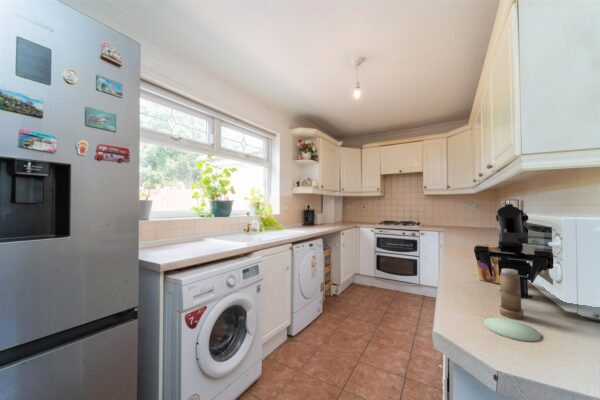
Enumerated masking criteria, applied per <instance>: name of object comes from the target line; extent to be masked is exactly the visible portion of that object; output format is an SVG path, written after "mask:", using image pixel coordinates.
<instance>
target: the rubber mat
mask: <svg viewBox="0 0 600 400" xmlns="http://www.w3.org/2000/svg"><path fill="white" fill-rule="evenodd" d="M483 324H484V326H485V328H486V329H487V330H489V331H490V332H493V333H494V334H495V335H496V334H497V335H499V336H501V337H505V338H508V339H511V340H515V341H521V342H537V341H540V340H541V338H542V337H541V335H542V334H541V333H540V331H538V330H537V329H535V328H534V327H533V326H530V325H528V324H526V323H523V322H521V321H516V320H515V319H510V318H508V319H507V318H502V317H489V318H486V319H484V321H483Z"/></svg>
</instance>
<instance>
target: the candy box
mask: <svg viewBox="0 0 600 400" xmlns="http://www.w3.org/2000/svg"><path fill="white" fill-rule="evenodd" d="M477 245H479V246H489V249H490V250H493V251H500V249H499V247H498V245H499V244H492V243H491V244H489V243H477V244H474V247H475V246H477ZM498 259H501V258H499V257H491V264H492V272H493V276H492V277H491V276H490V274H489V271H488V269H487V267H486V265H485V264H484V263H481V262H480V261H478V260H476V265H477V272H478V280H479V281H482V282H489V283H496V284H500V276H499V269H498Z"/></svg>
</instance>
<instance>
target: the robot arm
mask: <svg viewBox="0 0 600 400" xmlns="http://www.w3.org/2000/svg"><path fill="white" fill-rule="evenodd" d="M495 218H496V222H498V223H499V226H500V232H499V233H498V238H499V239H498V244H497V245H498V247H499V249H500V251H493V250H490V249H489V246H479V245H477V246H475V245H474V247H473V248H474V249H473V253H474V256H475V260H476V261H477V260H478V261H480V262H481V263H484V264H485V265H486V267H487V269H488V271H489V274H490V276H491V277H492V276H493V272H492V264H491V257H499V258H501V259H498V269H499V276H500V272H502V269H504V268H506V269H514V270H517V271H518V274H519V275H520V291H521V298H533V295H532V294H530V293H529V287H528V286H529V284H528V283H529V281H530V284H533V283H534V282H535V280H536V279H537V277H538V276H539V274H540V273H542V271H548V270H552V269H554V253H553V252H552V251H550V250H542V249H534V250H533V253H534V254H531V253H525V252H524V246H523V245H524V244H526V245H528V244H529V238H528V226H527V223H528V221H529V215H527V213H526V212H524V210H523V209H520V208H518V207H517V206H514V204H513V203H507V204H506V203H505V204H504V206H502V207H500V208H499V209H498V210H497V213H496V215H495ZM526 222H527V223H526ZM530 262H532V264H531V263H530ZM499 292H500V293H501V289H499Z"/></svg>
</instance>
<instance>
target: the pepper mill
mask: <svg viewBox="0 0 600 400" xmlns="http://www.w3.org/2000/svg"><path fill="white" fill-rule="evenodd" d="M499 286H500V290H501V292H500V303H501V304H500V305H499V314H500V315H501V316H503V317H505V318H508V319H510V320H523V319H524V316H525V314H524V310H523V309H522V297H521V291H520V275H519V274H518V271H517V270H514V269H506V268H504V269H502V272H500V283H499Z"/></svg>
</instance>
